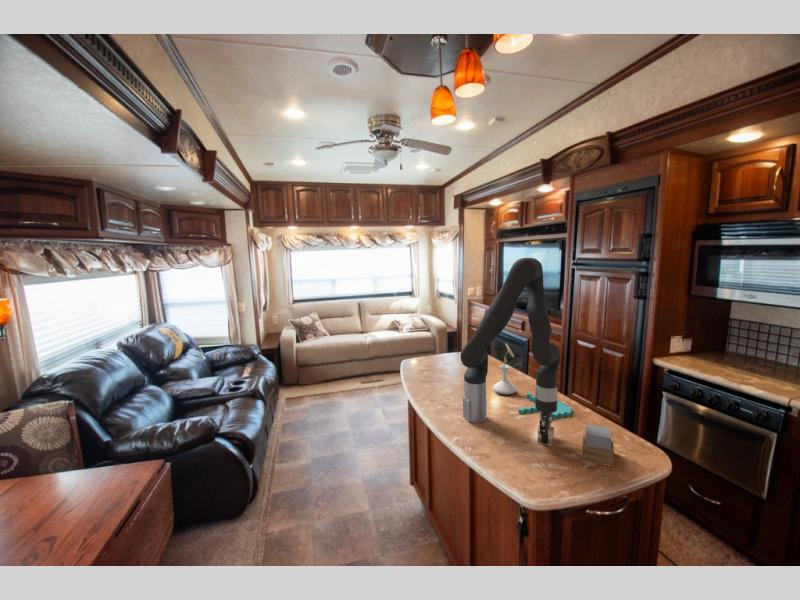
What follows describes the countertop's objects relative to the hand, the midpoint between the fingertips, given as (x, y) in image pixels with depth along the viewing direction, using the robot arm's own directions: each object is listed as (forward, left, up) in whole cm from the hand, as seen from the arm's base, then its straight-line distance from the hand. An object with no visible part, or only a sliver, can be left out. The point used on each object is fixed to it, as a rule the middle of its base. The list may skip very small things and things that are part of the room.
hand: (545, 439), depth 122 cm
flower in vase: (+10, +45, -1) cm, 46 cm away
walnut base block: (+11, -13, -1) cm, 17 cm away
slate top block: (+11, -13, +4) cm, 17 cm away
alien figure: (+17, +22, -1) cm, 28 cm away
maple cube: (0, 0, -1) cm, 1 cm away
